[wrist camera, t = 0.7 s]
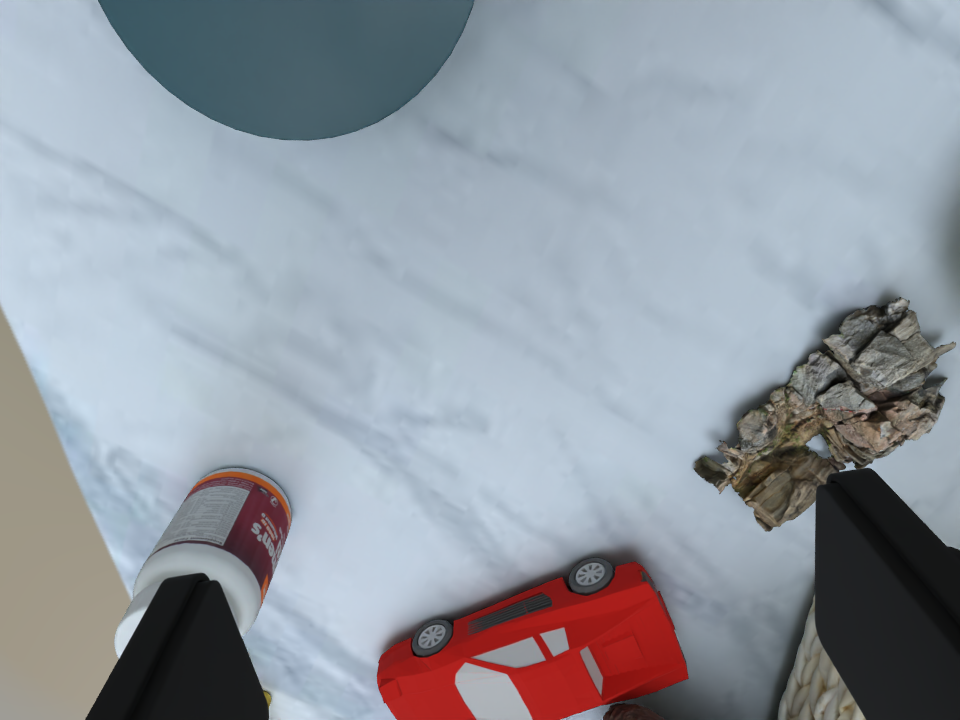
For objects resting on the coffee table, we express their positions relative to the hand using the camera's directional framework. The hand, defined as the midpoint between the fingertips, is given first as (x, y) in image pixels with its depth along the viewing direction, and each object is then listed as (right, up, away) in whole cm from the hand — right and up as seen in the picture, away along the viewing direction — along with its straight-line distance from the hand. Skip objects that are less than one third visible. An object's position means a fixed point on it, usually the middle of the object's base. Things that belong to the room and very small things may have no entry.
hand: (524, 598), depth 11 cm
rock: (+18, +2, +31) cm, 36 cm away
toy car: (+2, -14, +37) cm, 39 cm away
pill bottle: (-15, -5, +33) cm, 36 cm away
